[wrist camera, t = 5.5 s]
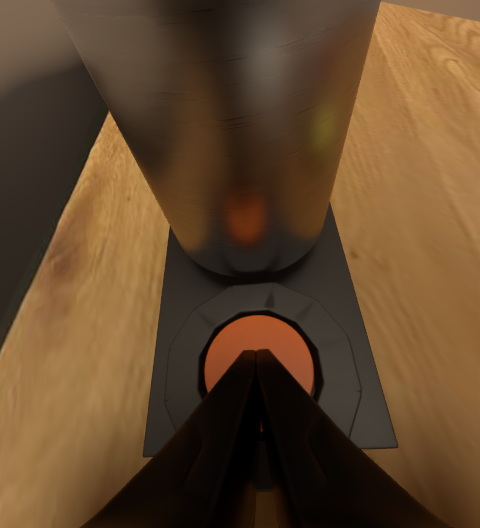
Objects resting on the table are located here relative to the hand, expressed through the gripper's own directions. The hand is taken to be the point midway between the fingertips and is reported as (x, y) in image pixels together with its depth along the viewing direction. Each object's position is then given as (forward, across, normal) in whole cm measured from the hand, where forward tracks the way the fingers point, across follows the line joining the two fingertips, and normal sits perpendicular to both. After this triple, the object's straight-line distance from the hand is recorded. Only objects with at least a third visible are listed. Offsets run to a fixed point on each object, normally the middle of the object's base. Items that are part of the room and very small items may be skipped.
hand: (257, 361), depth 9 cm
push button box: (+7, 0, +3) cm, 8 cm away
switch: (+2, 0, +2) cm, 2 cm away
